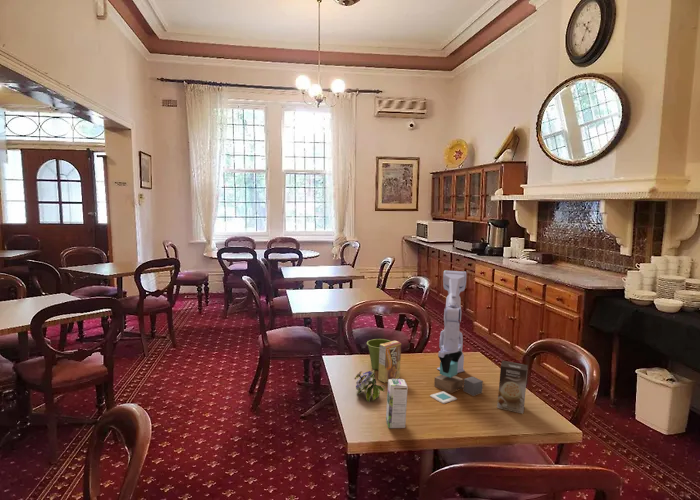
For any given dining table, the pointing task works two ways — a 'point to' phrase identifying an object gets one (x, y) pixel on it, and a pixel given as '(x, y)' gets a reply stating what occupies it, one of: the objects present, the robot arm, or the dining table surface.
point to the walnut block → (448, 383)
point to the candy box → (389, 361)
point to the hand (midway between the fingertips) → (449, 370)
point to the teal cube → (450, 369)
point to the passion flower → (365, 382)
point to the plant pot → (375, 351)
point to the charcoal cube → (473, 386)
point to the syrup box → (396, 403)
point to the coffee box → (512, 386)
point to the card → (443, 397)
